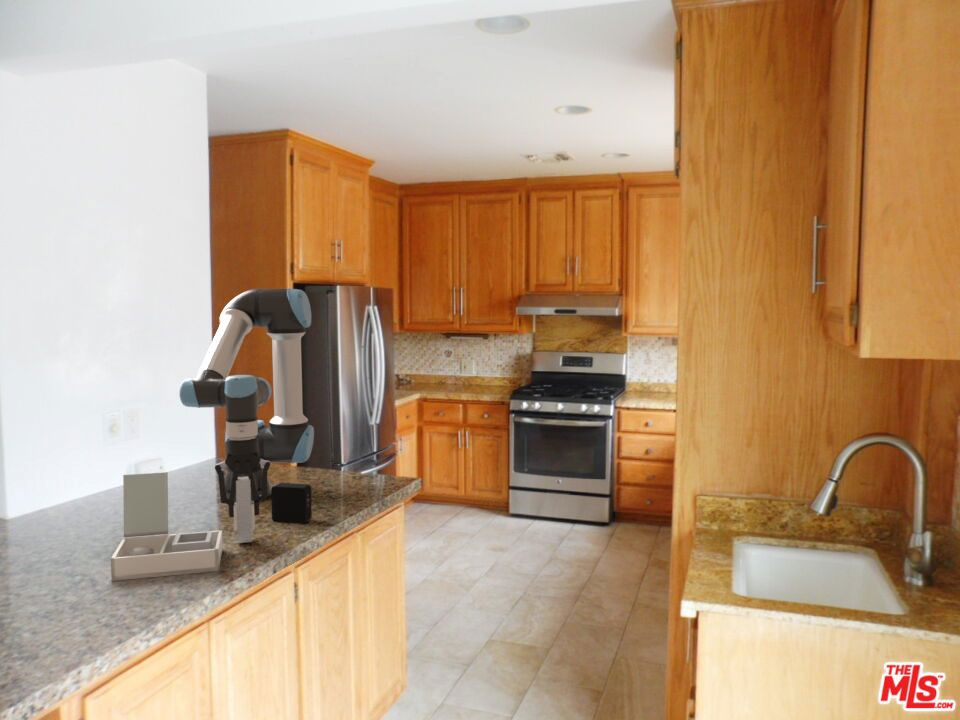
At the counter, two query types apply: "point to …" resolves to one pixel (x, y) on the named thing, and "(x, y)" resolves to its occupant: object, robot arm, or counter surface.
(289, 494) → the electronic device
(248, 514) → the rectangular gray bar
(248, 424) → the robot arm
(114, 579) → the housing
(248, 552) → the counter surface
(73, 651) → the counter surface
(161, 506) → the lid
